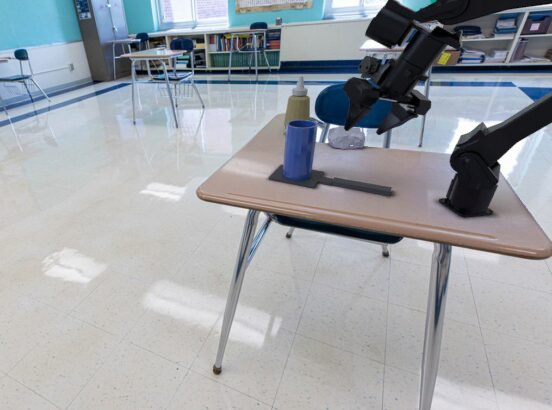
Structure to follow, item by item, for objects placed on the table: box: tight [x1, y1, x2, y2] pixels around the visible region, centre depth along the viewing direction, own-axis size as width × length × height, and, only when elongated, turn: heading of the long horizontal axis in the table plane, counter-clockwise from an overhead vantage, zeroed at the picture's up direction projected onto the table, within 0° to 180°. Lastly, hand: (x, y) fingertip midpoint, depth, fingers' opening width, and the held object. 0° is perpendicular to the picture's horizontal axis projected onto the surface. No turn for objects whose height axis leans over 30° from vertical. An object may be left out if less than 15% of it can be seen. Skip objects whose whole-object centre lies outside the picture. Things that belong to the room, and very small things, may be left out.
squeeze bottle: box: [283, 75, 311, 130], centre depth 104 cm, size 8×8×18 cm
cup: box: [282, 120, 319, 180], centre depth 77 cm, size 7×7×12 cm
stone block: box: [326, 125, 366, 150], centre depth 99 cm, size 12×5×10 cm
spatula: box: [268, 163, 393, 197], centre depth 77 cm, size 26×9×1 cm, turn 59°
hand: (361, 131), depth 71 cm, fingers open, 9 cm apart
